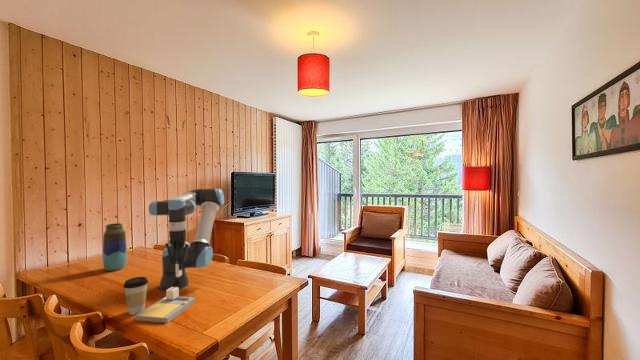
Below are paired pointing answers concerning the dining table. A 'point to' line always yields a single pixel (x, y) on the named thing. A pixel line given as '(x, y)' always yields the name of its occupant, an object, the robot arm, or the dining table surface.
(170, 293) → the breaker slider
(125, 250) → the vase
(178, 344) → the dining table surface
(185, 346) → the dining table surface
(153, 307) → the panel
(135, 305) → the coffee cup
